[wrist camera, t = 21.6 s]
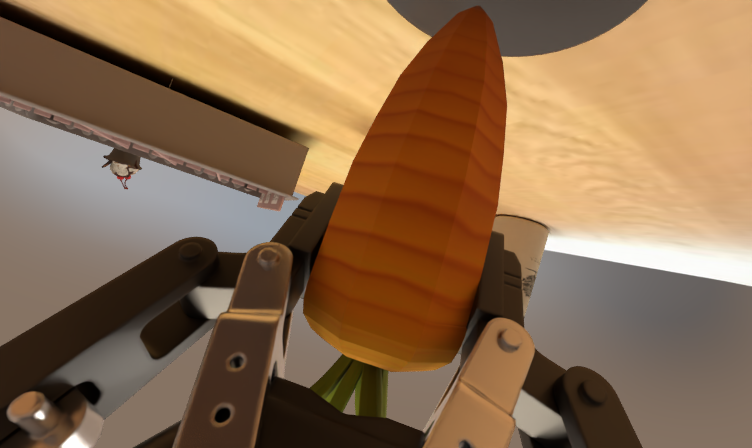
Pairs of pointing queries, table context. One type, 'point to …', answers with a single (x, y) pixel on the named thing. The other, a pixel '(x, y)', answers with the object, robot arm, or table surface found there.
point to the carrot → (413, 219)
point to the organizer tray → (142, 117)
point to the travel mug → (523, 247)
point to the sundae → (123, 164)
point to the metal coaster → (526, 20)
